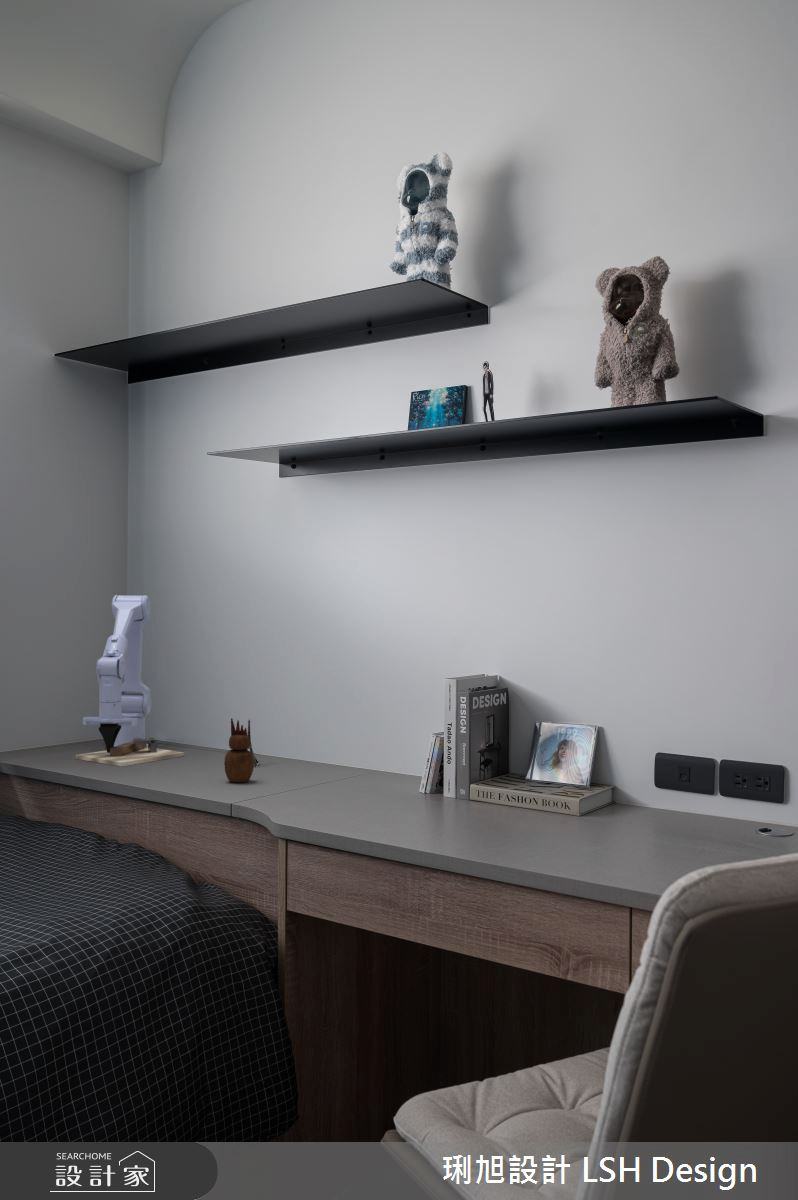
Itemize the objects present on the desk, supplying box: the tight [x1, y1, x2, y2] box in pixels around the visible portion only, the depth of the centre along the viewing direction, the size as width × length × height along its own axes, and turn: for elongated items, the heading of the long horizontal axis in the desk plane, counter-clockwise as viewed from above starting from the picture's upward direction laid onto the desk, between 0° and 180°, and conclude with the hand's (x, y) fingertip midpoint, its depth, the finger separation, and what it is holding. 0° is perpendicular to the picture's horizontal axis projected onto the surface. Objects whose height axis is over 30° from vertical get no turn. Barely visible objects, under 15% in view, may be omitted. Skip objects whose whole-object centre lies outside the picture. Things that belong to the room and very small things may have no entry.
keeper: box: [132, 737, 158, 753], centre depth 264 cm, size 4×6×3 cm, turn 114°
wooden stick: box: [110, 737, 147, 756], centre depth 264 cm, size 16×3×3 cm, turn 170°
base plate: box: [75, 747, 185, 767], centre depth 261 cm, size 19×21×1 cm
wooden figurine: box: [223, 718, 255, 783], centre depth 228 cm, size 7×6×15 cm
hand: (110, 752), depth 258 cm, fingers closed
